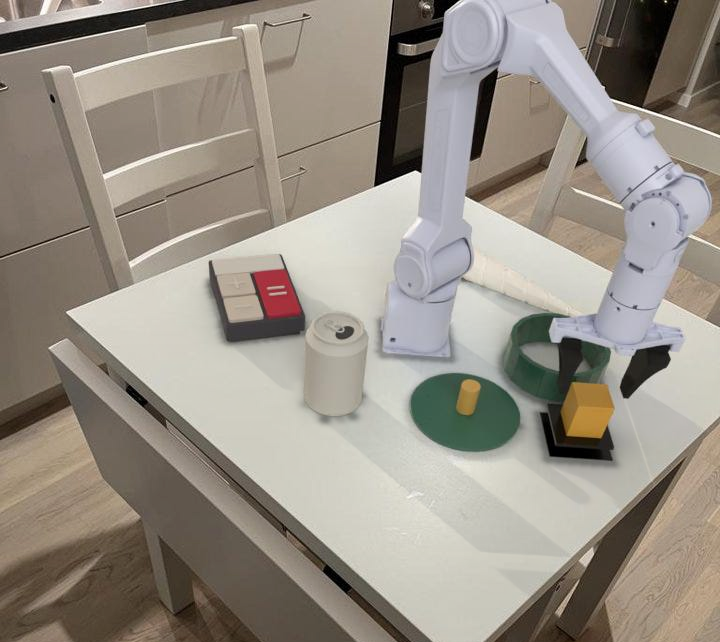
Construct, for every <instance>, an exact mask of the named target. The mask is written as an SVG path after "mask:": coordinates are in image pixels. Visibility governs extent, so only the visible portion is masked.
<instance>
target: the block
mask: <svg viewBox="0 0 720 642" xmlns="http://www.w3.org/2000/svg"><path fill="white" fill-rule="evenodd" d="M562 405H563V407H562V409H561V415H562V420H563V424H564V428H565V432H566V436H575V437H589V438H602V435H603V433H604V431H605V429H606V427H607V425H608V426H609V422H610V420H611V418H612V416H613V414H614V411H615V409H616V408H615V405H614V402H613V399H612V396H611V392H610V389H609V386H608V384H604V383H600V384H592V383H578V382H572V384H571V386H570V389H569V391H568V394H567V397H566V399H565V402H563V404H562Z"/></svg>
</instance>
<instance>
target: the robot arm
mask: <svg viewBox="0 0 720 642" xmlns="http://www.w3.org/2000/svg"><path fill="white" fill-rule="evenodd" d="M443 16H444V17H443V27H442V33H441V35H440V37H439V39H438V42H437V44H436V46H435V48H434V50H433V52H432V54H431V58H430V64H429V76H428V87H427V88H428V89H427V100H426V114H425V125H424V126H425V127H424V135H423V136H424V137H423V148H422V163H421V164H422V165H421V174H420V175H421V176H420V185H419V186H420V187H419V199H418V201H419V202H418V211H417V217H416V218H415V219H414V220H413V222H412V224H411V225H410V226H409V227H408V228H407V230H406V231H405V233H404V234H403V236H402V237H401V240H400V242H401V243H400V248H399V252H398V254H397V255H396V256H395V259H394V263H393V273H394V278H395V280H388V281H387V284H386V291H385V299H384V304H383V305H384V306H383V315H382V317H381V319H380V331H381V332H382V352H383V353H388V354H402V355H412V356H413V355H414V356H428V357H429V356H430V357H441V358H449V357H451V355H452V354H451V346H450V336H449V330H450V326H451V320H452V315H453V311H454V306H455V302H456V296H457V291H458V286H459V285H460V284H461V281H462V278H461V275H464V274H466V273H467V272H469V270H470V269H471V268H472V266H473V263H474V250H473V247H474V246H473V243H472V233H473V232H472V231H473V226H472V225H471V224H470V223H469V222H468V221H467V220H465V219H464V218H463V215H464V208H465V201H466V192H467V185H468V176H469V169H470V160H471V152H472V144H473V136H474V128H475V122H476V112H477V105H478V96H479V88H480V84H481V81H482V80H483V79H484V78H486V77H487V76H488V75H490V74H491V73H492V72H493V71H495V70H496V69H497V72H498V73H501V74H510V75H518V76H519V75H520V76H530V77H534V78H536V79H537V80H538V82H540V84H541V85H542V87H544V88H545V90H546V91H547V92H548V93H549V94H550V95H551V97H552V98H553V99H554V100H555V101H556V103H557V104H558V105H559V106H560V107H561V108H562V110H563V111H564V112H565V113H566V114H567V115H568V117H570V119H571V120H572V121H573V123H574V124H575V125H576V126H577V127H578V128H579V130H580V131H581V132H582V133H583V134H584V136H585V137H586V149H585V158H586V160H587V162H588V163H589V164H590V166H591V167H592V168H593V170H594V171H595V172H596V174H597V176H599V178H600V179H601V180H602V182H603V183H604V184H605V186H606V187H607V189H608V190H609V192H610V193H611V194H612V195H613V197H614V198H615V199H616V201H617V202H618V204H620V207H621V208H622V210H623V211H624V212H625V213H624V217H623V225H624V226H623V227H624V232H625V235H626V240H625V241H624V245H623V246H622V248H621V251H620V253H619V256H618V259H617V261H616V263H615V265H614V268H613V271H612V273H611V277H610V279H609V281H608V284H607V286H606V289H605V292H604V294H603V297H602V299H601V302H600V304H599V307H598V309H597V312H596V313H590V314H583V316H576V317H570V318H553V321H552V324H551V327H550V330H549V334H550V339H551V342H554V343H553V344H555V343H557V344H556V345H557V350H558V351H557V352H558V371H559V374H558V381H557V385H558V389H559V393H560V394H566V393H567V391H568V389H569V386H570V383H571V381H572V378H573V375H574V374H575V373H577V370H578V368H580V366H581V364H582V363H583V361H585V358H584V357H583V355H582V352H581V349H582V345H581V342H582V341H587V342H591V343H594V344H598V345H601V346H605V347H608V348H610V349H612V350H614V351H615V354H616V355H619V356H624V357H625V356H626V357H631V358H630V361H629V363H628V365H627V367H626V370H625V371H624V374H623V376H622V379H621V381H620V385H619V390H620V392H621V396H622V398H623V399H627V400H628V399H630V398H631V397H632V396H633V394H635V392H636V391H637V390H638V389H639V388H640V387H641V386H642V385H643V384H644V383H645V382H646V381H647V380H648V379H650V378H651V377H653V376H654V375H655V374H658V373H660V371H663V370H664V369H667V368H668V366H669V365H670V363H671V360H672V358H671V356H670V353H669V352H673V353H679V352H680V351H681V349H682V347H683V345H684V343H685V341H686V340H687V338H686V336H685V333H684V332H683V329H682V327H679V326H678V327H677V326H671V325H667V324H662V323H659V322H656V321H655V322H654V318H655V316H656V314H657V312H658V310H659V307H660V305H661V303H662V301H663V300H664V297H665V295H666V293H667V291H668V288H669V287H670V284H671V282H672V280H673V278H674V276H675V275H676V274H675V273H676V272H677V269H678V267H679V264H680V261H681V258H682V257H683V254H684V252H685V250H686V248H687V246H688V243H689V241H690V239H689V236H691V235H692V234H694V233H696V231H698V230H700V228H701V227H702V226H703V225H705V223H706V221H708V218H709V217H710V214H711V212H712V205H713V202H712V201H713V200H712V195H711V192H710V190H709V188H708V187H707V184H706V181H705V179H703V178H702V177H701V176H700V175H698V174H695V173H692V172H686V171H684V168H682V166H681V165H680V163H677V164H675V163H674V162H673V159H671V157H670V156H669V154H668V152H666V150H665V149H664V148H663V146H662V145H661V144H660V142H659V141H658V140H657V139H656V137H655V135H654V134H653V133H654V132H655V131H656V127H655V125H654V124H653V123H652V121H651V120H650V119H649V118H646V119H644V120H643V119H642V118H641V117H640V115H639V114H638V113H635V112H625V111H620V110H618V109H617V107H616V106H615V104H614V102H613V101H612V99H611V97H610V96H609V94H608V92H607V91H606V90H605V88H604V86H603V85H602V84H601V82H600V81H599V79H598V77H597V76H596V74H595V73H594V70H593V69H592V68H591V66H590V65H589V63H588V61H587V60H586V58H585V57H584V55H583V53H582V52H581V50H580V48H579V47H578V46H577V44H576V42H575V41H574V39H573V37H572V36H571V34H570V33H569V31H568V30H567V25H566V20H565V15H564V11H563V9H562V8H561V7H560V6H559V5H558V4H557V3H556V2H555V1H553V0H458V1H457V2H456V3H455V4H454V5H452V6H451V7H450V8H449V9H447V10H446V11H445V12H444V15H443Z"/></svg>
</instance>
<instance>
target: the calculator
mask: <svg viewBox="0 0 720 642" xmlns="http://www.w3.org/2000/svg"><path fill="white" fill-rule="evenodd" d="M207 263H208V275H209V276H208V277H209V283H210V286H211V287H210V288H211V290H212V294H213V296H214V298H215V302H216V303H215V304H216V306H217V310H218V314H219V317H220V320H221V324H222V327H223V331H224V336H225V339H226V341H227V342H228V343H233V342H241V341H242V342H243V341H251V340H257V339H266V338H275V337H284V336H291V335H292V336H293V335H299V334H301V332H303V331H305V329H306V327H305V326H306V325H305V324H306V313H305V312H304V309H303V306H302V303H301V301H300V298H299V296H298V293H297V291H296V288H295V286H294V284H293V281H292V277H291V275H290V272H289V270H288V267H287V264H286V262H285V260H284V256H283V255H282V254H281V253H271V254H259V255H249V256H248V255H247V256H238V257H227V258H216V259H215V258H214V259H211V260H208V262H207Z"/></svg>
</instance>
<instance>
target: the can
mask: <svg viewBox="0 0 720 642" xmlns="http://www.w3.org/2000/svg"><path fill="white" fill-rule="evenodd" d="M368 346H369V334H368V332H367V330H366V329H365V325H364V323H363V321H362V320H361V319H360V318H359V317H358V316H356V315H355V314H352V313H350V312H347V311H343V310H329V311H328V310H327V311H325V312H322V313H320V314H318V315H316V316H315V317H314V319H312V321H311V324H310V325H309V327H307V329H306V332H305V341H304V370H303V371H304V374H303V398H304V402H305V403H306V405H307V406H308V407H309V408H310V410H313V411H314V412H316V413H317V414H321V415H324V416H329V417H330V416H331V417H341V416H345V415H348V414H351V413H353V412H355V411H356V410H357V409H359V407H360V405H361V404H362V400H363V392H364V384H365V373H366V366H367V356H368V354H367V353H368V348H369V347H368Z"/></svg>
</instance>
